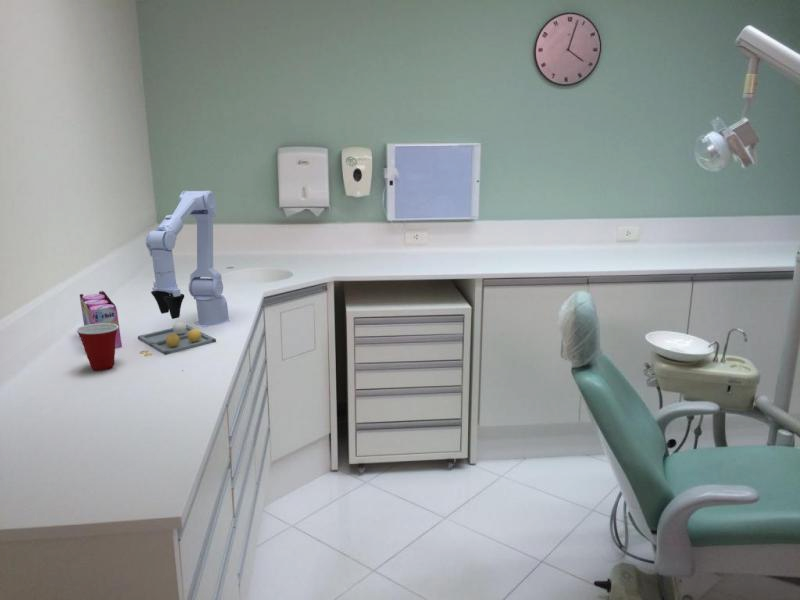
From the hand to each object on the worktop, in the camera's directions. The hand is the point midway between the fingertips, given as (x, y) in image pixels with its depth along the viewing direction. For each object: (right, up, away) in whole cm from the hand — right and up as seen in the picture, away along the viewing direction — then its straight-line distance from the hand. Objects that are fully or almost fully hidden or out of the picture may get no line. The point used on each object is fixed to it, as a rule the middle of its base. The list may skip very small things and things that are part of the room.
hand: (170, 315), depth 205 cm
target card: (-6, -12, -4) cm, 14 cm away
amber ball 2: (+6, -8, +5) cm, 11 cm away
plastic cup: (-14, -14, -13) cm, 24 cm away
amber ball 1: (+1, -9, +1) cm, 9 cm away
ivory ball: (-1, -6, +12) cm, 14 cm away
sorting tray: (0, -8, +7) cm, 11 cm away
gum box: (-24, -9, +10) cm, 27 cm away
